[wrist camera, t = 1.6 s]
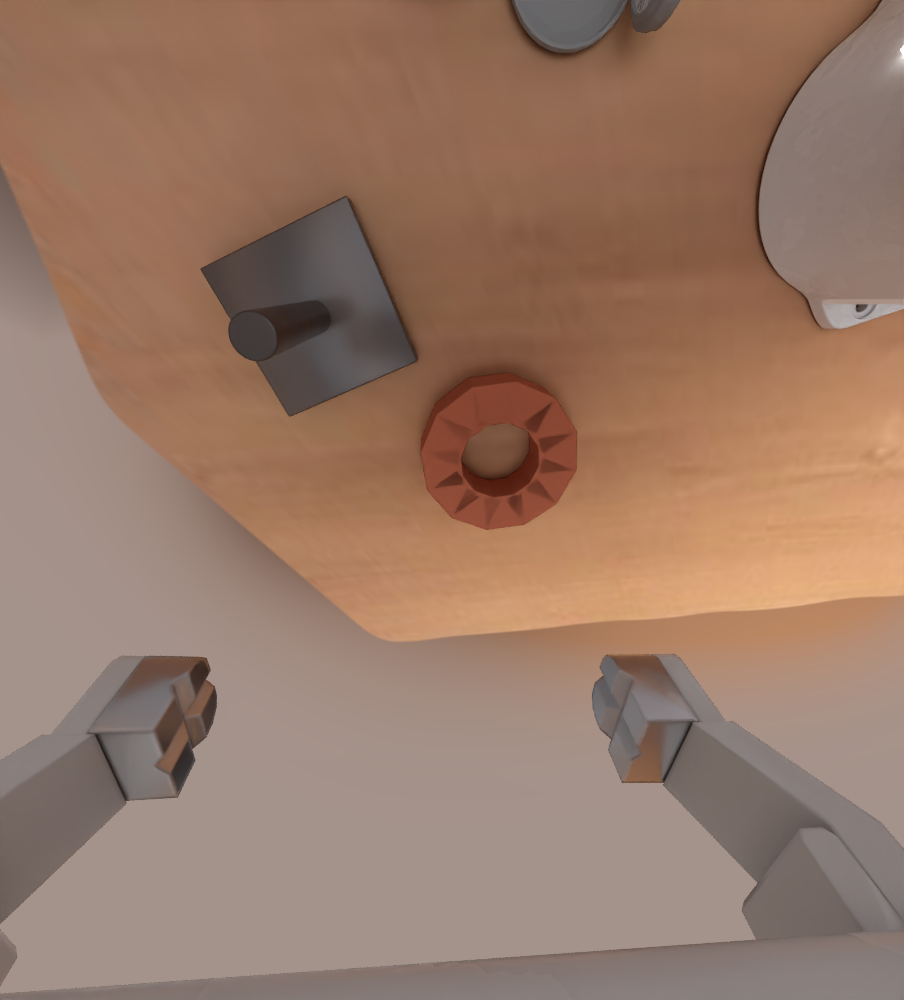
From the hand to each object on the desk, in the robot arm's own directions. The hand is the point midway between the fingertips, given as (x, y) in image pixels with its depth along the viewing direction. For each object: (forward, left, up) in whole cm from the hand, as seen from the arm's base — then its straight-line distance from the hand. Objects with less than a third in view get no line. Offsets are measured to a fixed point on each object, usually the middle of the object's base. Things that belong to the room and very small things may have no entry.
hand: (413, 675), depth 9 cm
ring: (-5, +5, -25) cm, 26 cm away
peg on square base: (+6, -6, -25) cm, 27 cm away
